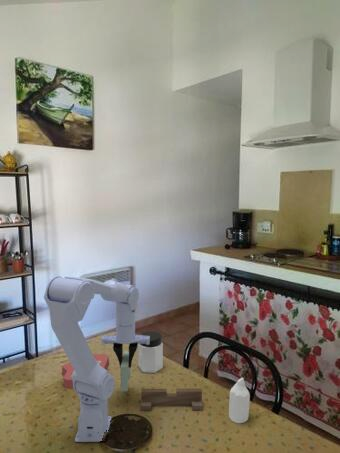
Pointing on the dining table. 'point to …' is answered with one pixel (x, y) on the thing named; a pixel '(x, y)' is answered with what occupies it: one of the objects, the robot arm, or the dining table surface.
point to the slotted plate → (125, 371)
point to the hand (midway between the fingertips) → (125, 366)
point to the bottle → (239, 402)
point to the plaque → (68, 368)
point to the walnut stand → (171, 398)
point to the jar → (151, 353)
